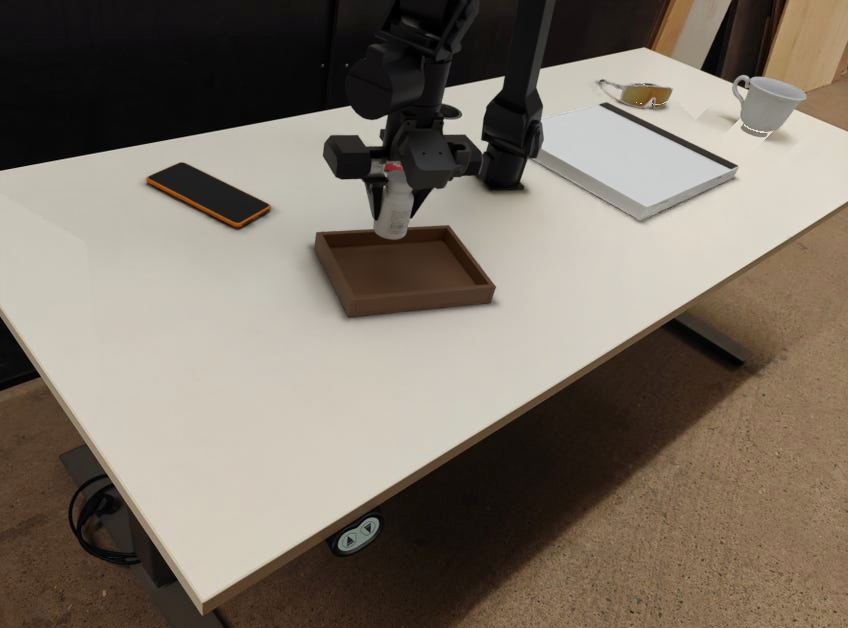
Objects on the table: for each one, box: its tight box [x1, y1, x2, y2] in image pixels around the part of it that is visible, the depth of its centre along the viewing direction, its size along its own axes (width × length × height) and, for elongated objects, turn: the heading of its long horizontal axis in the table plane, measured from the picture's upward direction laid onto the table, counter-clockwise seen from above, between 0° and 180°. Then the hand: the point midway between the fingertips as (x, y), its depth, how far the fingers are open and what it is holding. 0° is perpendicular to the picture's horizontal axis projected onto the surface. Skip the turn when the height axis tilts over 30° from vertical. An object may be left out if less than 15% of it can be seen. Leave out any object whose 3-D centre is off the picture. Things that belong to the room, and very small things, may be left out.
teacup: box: [731, 74, 808, 138], centre depth 148 cm, size 12×15×10 cm
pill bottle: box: [372, 170, 414, 240], centre depth 84 cm, size 4×4×8 cm
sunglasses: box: [599, 78, 674, 110], centre depth 154 cm, size 14×15×5 cm
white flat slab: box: [530, 101, 740, 221], centre depth 126 cm, size 35×2×31 cm
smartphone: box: [145, 161, 272, 228], centre depth 93 cm, size 8×17×1 cm, turn 58°
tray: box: [313, 224, 497, 318], centre depth 86 cm, size 19×14×2 cm
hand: (391, 217), depth 85 cm, fingers closed on pill bottle, 4 cm apart
